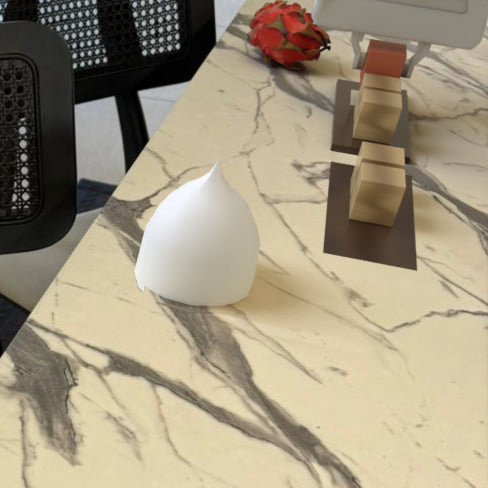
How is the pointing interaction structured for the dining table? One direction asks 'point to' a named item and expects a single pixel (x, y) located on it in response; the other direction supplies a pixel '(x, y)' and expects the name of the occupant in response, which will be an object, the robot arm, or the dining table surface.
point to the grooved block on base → (372, 209)
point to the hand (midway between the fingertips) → (380, 72)
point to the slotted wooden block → (370, 114)
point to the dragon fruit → (287, 34)
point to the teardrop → (200, 245)
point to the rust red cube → (384, 59)
